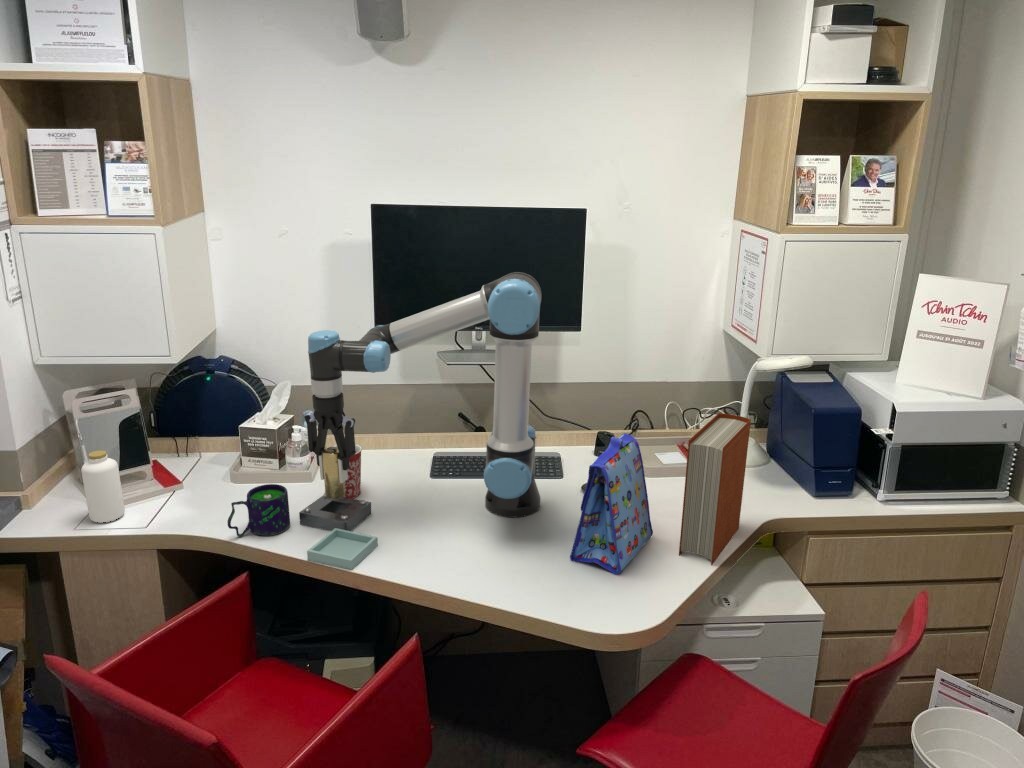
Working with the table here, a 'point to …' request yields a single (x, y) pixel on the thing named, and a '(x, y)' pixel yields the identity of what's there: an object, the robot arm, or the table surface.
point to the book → (714, 485)
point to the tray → (342, 548)
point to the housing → (325, 513)
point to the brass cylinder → (332, 473)
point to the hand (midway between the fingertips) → (334, 479)
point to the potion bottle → (102, 488)
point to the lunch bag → (614, 508)
